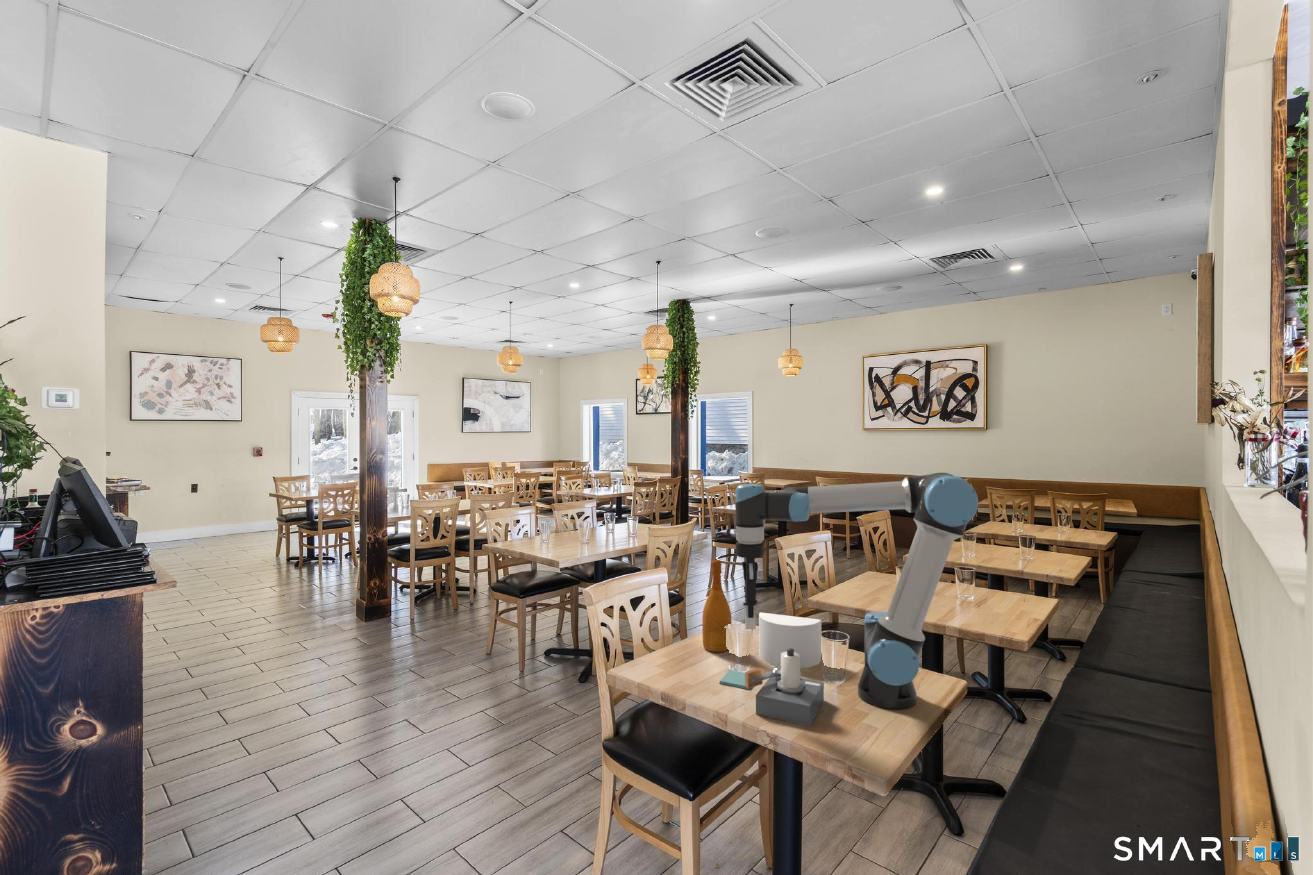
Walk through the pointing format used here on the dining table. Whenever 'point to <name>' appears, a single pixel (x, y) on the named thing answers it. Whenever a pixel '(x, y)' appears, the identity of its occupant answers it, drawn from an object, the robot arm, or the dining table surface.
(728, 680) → the pad
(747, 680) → the clip lever
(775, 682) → the socket block
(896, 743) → the dining table surface
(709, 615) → the wine bottle
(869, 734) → the dining table surface
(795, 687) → the plug
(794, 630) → the container
